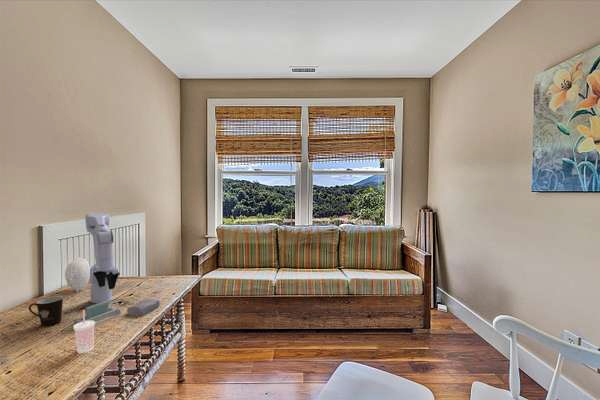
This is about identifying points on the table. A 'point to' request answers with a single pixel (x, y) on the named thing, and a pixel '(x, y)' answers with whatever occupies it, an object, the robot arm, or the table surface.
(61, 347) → the table surface
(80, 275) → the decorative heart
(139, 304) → the stone block
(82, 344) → the beverage cup
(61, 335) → the table surface
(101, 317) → the rectangular tray
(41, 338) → the table surface
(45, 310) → the coffee mug
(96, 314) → the door panel
